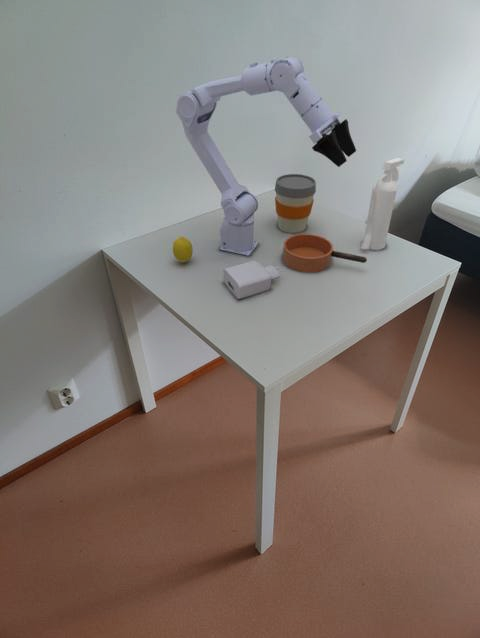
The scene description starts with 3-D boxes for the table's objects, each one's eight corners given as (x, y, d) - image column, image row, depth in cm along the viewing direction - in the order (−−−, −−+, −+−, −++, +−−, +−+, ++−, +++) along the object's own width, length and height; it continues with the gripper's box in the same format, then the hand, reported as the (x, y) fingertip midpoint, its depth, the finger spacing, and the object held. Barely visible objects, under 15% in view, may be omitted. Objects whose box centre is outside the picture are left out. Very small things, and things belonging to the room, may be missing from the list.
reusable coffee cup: (267, 231, 130) (269, 185, 120) (279, 215, 139) (282, 171, 129) (305, 238, 126) (310, 192, 117) (315, 221, 135) (321, 177, 125)
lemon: (196, 259, 117) (194, 234, 112) (188, 268, 113) (186, 243, 108) (179, 255, 118) (176, 231, 113) (170, 265, 114) (167, 240, 109)
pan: (276, 266, 114) (277, 252, 111) (290, 243, 124) (292, 230, 121) (324, 276, 110) (326, 262, 107) (335, 252, 120) (337, 239, 117)
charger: (289, 285, 107) (239, 300, 102) (271, 268, 113) (223, 282, 108) (291, 270, 104) (239, 285, 99) (272, 253, 110) (223, 267, 105)
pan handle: (327, 256, 113) (327, 251, 112) (328, 253, 114) (329, 248, 113) (365, 264, 110) (366, 259, 109) (366, 261, 111) (367, 256, 110)
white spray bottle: (349, 248, 121) (366, 164, 105) (373, 235, 128) (392, 153, 112) (369, 257, 118) (388, 171, 101) (392, 243, 124) (414, 160, 108)
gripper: (313, 102, 82) (352, 157, 85) (336, 89, 92) (370, 138, 94) (289, 126, 87) (327, 177, 90) (313, 111, 97) (346, 157, 100)
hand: (347, 158), depth 92 cm, fingers open, 7 cm apart
